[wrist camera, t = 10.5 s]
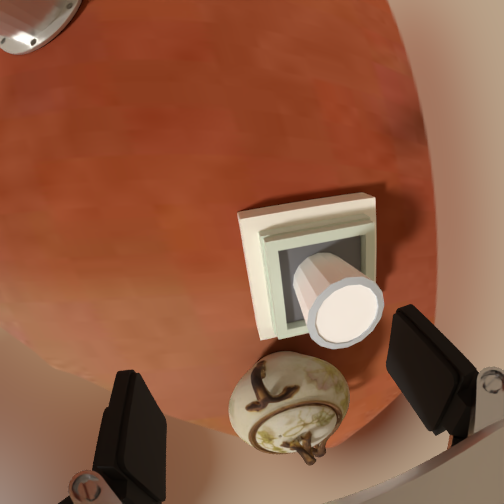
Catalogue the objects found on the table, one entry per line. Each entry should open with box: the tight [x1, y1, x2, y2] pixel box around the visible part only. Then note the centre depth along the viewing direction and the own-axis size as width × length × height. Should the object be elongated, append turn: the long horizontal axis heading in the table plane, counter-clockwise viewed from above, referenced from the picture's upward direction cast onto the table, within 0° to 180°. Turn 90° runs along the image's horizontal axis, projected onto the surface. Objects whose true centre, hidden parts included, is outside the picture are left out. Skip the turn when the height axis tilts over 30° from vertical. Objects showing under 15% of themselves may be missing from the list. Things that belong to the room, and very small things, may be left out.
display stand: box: [237, 192, 376, 340], centre depth 31 cm, size 14×14×6 cm
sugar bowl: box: [229, 351, 350, 465], centre depth 33 cm, size 20×15×15 cm
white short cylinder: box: [293, 253, 384, 349], centre depth 26 cm, size 7×7×7 cm
